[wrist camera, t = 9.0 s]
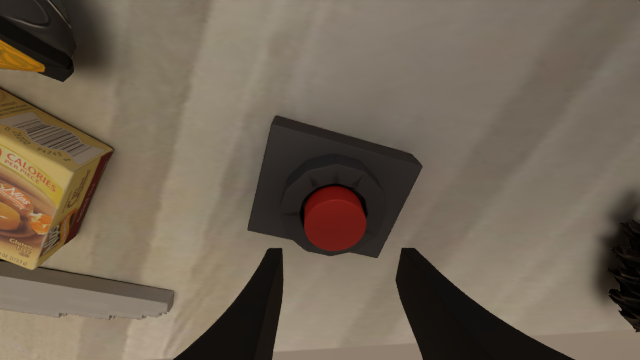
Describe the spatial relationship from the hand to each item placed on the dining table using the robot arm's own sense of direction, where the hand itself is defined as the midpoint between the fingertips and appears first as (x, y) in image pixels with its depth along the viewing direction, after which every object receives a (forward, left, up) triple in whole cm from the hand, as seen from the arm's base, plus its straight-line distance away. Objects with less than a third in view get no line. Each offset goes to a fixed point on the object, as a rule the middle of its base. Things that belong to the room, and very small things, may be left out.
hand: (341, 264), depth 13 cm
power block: (0, 0, -8) cm, 8 cm away
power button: (0, 0, -5) cm, 5 cm away
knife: (+40, +16, -7) cm, 44 cm away
